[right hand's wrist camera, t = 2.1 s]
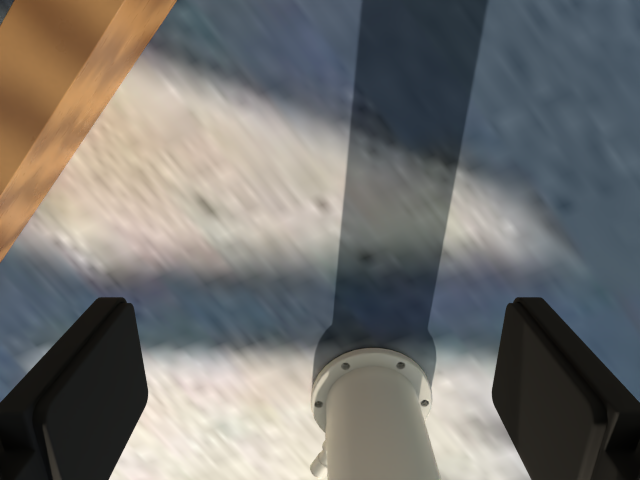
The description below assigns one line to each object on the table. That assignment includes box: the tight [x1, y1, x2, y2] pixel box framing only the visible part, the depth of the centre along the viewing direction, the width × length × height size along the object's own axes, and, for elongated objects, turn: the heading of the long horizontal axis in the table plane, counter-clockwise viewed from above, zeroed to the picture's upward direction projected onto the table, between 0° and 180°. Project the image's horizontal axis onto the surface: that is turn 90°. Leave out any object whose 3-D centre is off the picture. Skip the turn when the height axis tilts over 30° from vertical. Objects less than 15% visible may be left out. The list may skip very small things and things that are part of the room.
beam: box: [0, 0, 177, 262], centre depth 31 cm, size 80×5×8 cm, turn 139°
